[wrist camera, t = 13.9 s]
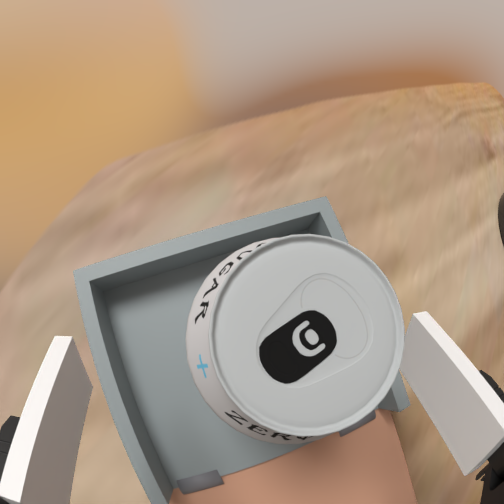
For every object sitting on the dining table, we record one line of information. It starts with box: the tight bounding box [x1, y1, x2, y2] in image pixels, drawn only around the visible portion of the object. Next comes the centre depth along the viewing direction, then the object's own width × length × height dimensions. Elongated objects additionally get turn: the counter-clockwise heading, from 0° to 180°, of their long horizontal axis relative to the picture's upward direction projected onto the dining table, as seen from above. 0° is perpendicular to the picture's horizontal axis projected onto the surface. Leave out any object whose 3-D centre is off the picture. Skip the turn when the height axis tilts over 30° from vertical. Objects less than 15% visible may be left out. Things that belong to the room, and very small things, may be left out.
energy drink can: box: [185, 234, 405, 444], centre depth 14 cm, size 6×6×15 cm
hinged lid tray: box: [73, 196, 417, 504], centre depth 19 cm, size 18×28×4 cm, turn 20°
